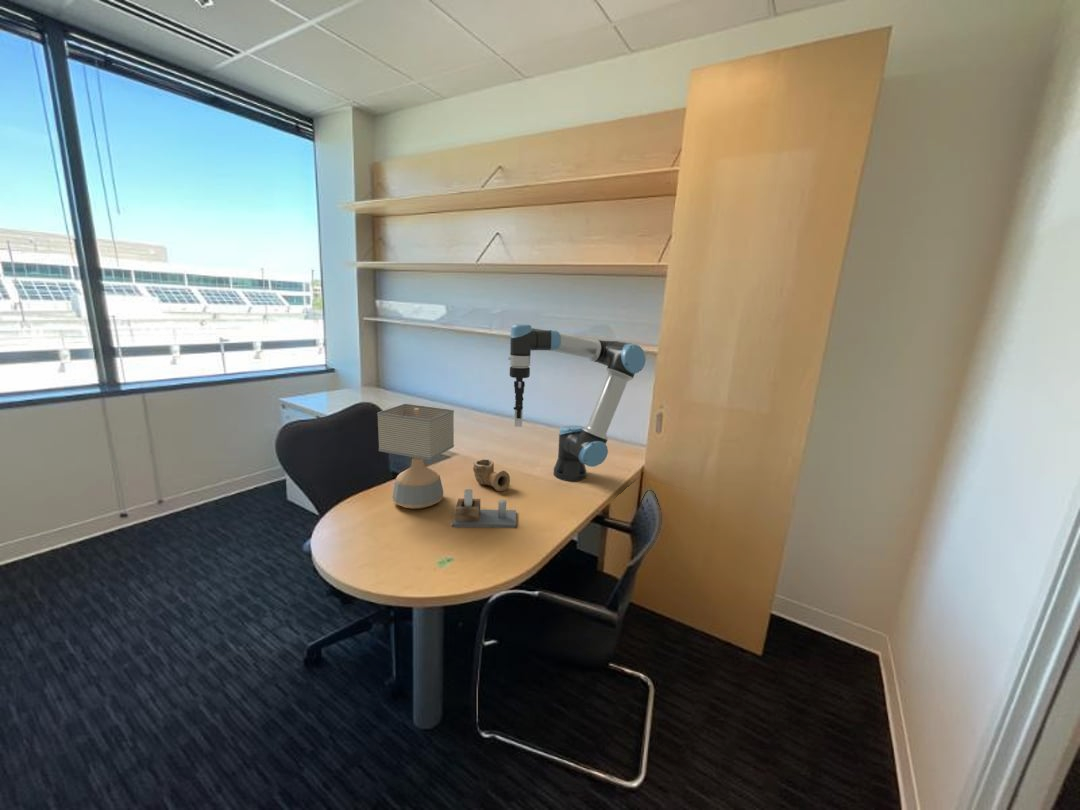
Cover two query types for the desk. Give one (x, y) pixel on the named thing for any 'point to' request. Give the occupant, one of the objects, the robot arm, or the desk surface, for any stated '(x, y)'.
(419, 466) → the desk lamp
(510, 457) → the desk surface
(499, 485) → the pipe
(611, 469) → the desk surface
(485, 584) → the desk surface
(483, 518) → the post board
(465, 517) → the collar
